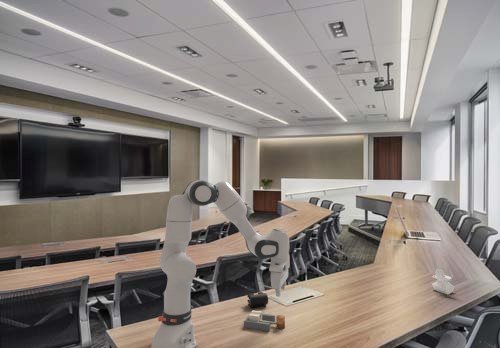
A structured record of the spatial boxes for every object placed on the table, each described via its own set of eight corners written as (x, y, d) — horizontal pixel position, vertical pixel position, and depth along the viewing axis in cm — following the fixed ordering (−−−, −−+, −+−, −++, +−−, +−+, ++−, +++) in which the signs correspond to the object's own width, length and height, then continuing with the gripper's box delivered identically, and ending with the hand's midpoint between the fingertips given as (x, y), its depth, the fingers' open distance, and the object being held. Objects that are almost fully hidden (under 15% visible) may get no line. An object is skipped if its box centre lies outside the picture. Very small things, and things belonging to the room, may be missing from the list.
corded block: (283, 330, 154) (283, 319, 154) (248, 325, 159) (248, 315, 159) (286, 325, 159) (286, 314, 159) (252, 320, 165) (252, 310, 165)
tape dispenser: (437, 286, 212) (437, 265, 212) (458, 293, 199) (458, 271, 199) (428, 288, 209) (427, 266, 209) (448, 295, 196) (448, 272, 196)
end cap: (251, 309, 178) (251, 297, 178) (246, 305, 184) (246, 292, 184) (268, 307, 181) (268, 294, 181) (263, 302, 188) (263, 290, 188)
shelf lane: (269, 331, 153) (269, 324, 153) (244, 327, 157) (243, 321, 157) (275, 321, 164) (275, 315, 164) (251, 317, 168) (251, 311, 168)
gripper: (278, 257, 168) (279, 284, 168) (268, 268, 149) (268, 299, 149) (291, 258, 166) (291, 286, 166) (282, 269, 147) (282, 301, 147)
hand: (280, 292), depth 157 cm, fingers open, 8 cm apart
